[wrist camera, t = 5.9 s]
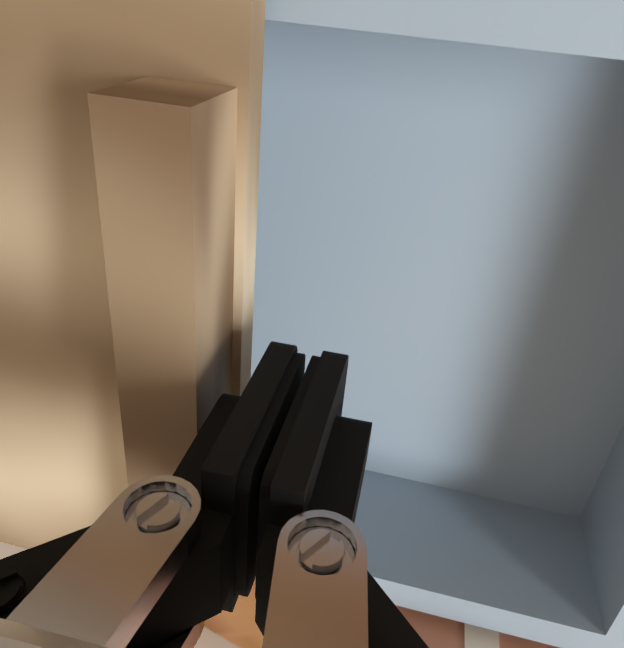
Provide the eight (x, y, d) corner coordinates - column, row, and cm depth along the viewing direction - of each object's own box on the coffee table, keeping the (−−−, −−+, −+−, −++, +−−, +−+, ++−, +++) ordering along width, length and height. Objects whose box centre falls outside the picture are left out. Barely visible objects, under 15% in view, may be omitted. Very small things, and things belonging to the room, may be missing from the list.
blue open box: (5, -67, 15) (-170, -90, 11) (848, 14, 12) (1047, 27, 8) (77, 409, 24) (-8, 501, 19) (596, 526, 21) (630, 665, 16)
